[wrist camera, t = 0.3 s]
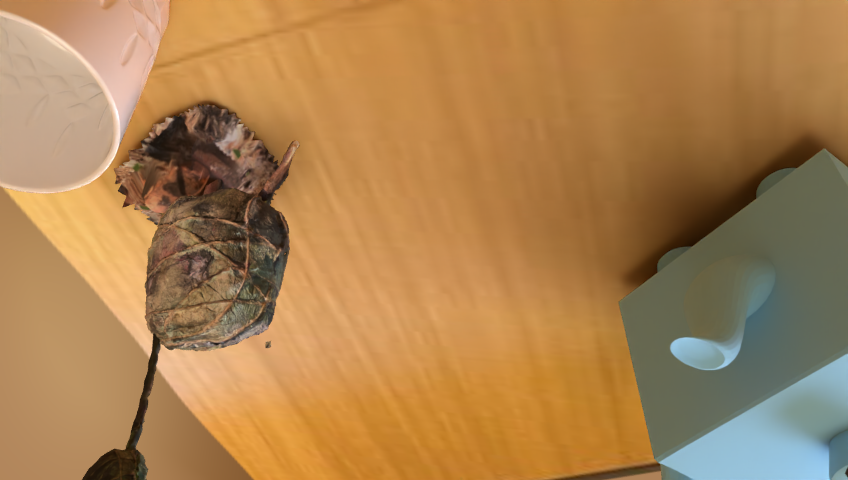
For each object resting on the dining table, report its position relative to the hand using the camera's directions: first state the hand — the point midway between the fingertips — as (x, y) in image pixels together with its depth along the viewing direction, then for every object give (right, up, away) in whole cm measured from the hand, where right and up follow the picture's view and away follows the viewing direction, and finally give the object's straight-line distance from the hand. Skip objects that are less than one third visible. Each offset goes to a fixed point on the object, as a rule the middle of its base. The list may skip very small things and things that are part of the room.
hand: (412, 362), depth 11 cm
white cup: (-15, +13, +25) cm, 32 cm away
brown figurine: (-11, +6, +32) cm, 34 cm away
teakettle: (+20, 0, +36) cm, 41 cm away
